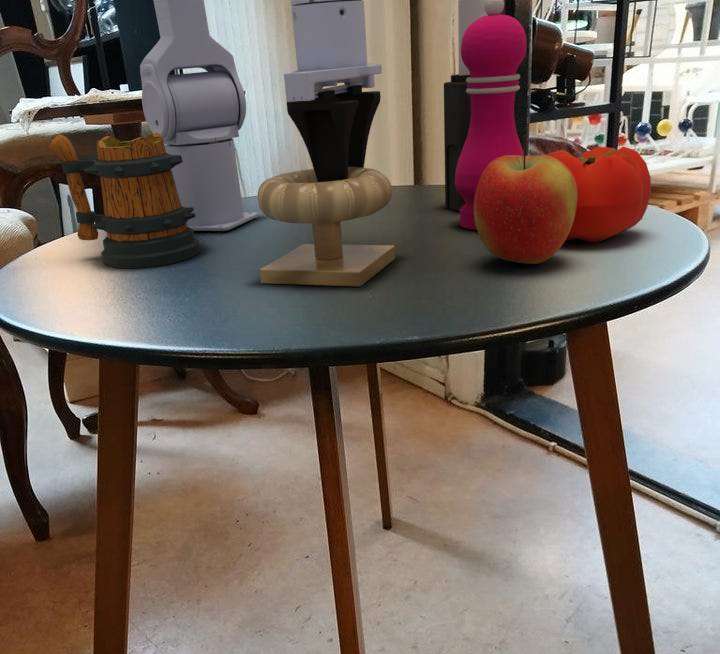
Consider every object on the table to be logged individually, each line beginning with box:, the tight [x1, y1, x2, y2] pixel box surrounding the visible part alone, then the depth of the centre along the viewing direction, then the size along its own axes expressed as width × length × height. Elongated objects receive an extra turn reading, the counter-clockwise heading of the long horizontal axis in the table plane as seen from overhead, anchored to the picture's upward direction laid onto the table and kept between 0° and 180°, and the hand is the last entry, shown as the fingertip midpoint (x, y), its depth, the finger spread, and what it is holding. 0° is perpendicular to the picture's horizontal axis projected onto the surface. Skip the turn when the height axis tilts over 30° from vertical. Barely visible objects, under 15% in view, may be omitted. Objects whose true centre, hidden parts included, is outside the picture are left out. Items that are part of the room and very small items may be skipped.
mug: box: [48, 132, 201, 269], centre depth 74 cm, size 13×10×12 cm
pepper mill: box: [455, 0, 528, 231], centre depth 74 cm, size 7×7×20 cm
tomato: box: [546, 145, 652, 243], centre depth 70 cm, size 11×11×8 cm
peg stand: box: [259, 221, 396, 288], centre depth 65 cm, size 9×9×7 cm
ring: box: [257, 167, 393, 224], centre depth 64 cm, size 11×11×3 cm
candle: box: [443, 0, 487, 213], centre depth 81 cm, size 5×5×25 cm
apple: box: [474, 134, 577, 265], centre depth 62 cm, size 8×8×10 cm
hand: (341, 187), depth 67 cm, fingers closed on ring, 3 cm apart
